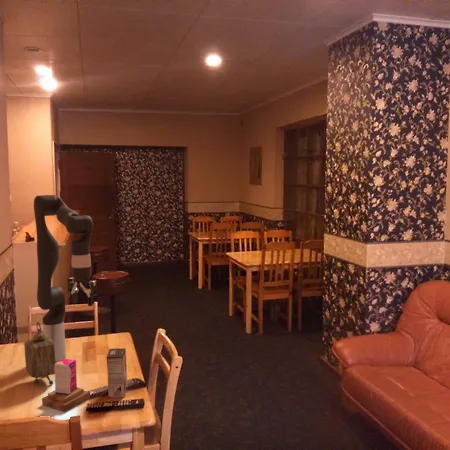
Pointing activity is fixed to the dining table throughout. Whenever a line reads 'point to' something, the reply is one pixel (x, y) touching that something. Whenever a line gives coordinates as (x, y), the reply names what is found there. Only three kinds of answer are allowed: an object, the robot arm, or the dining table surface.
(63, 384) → the supplement box
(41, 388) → the dining table surface
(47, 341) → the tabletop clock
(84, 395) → the walnut base
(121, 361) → the coffee box
